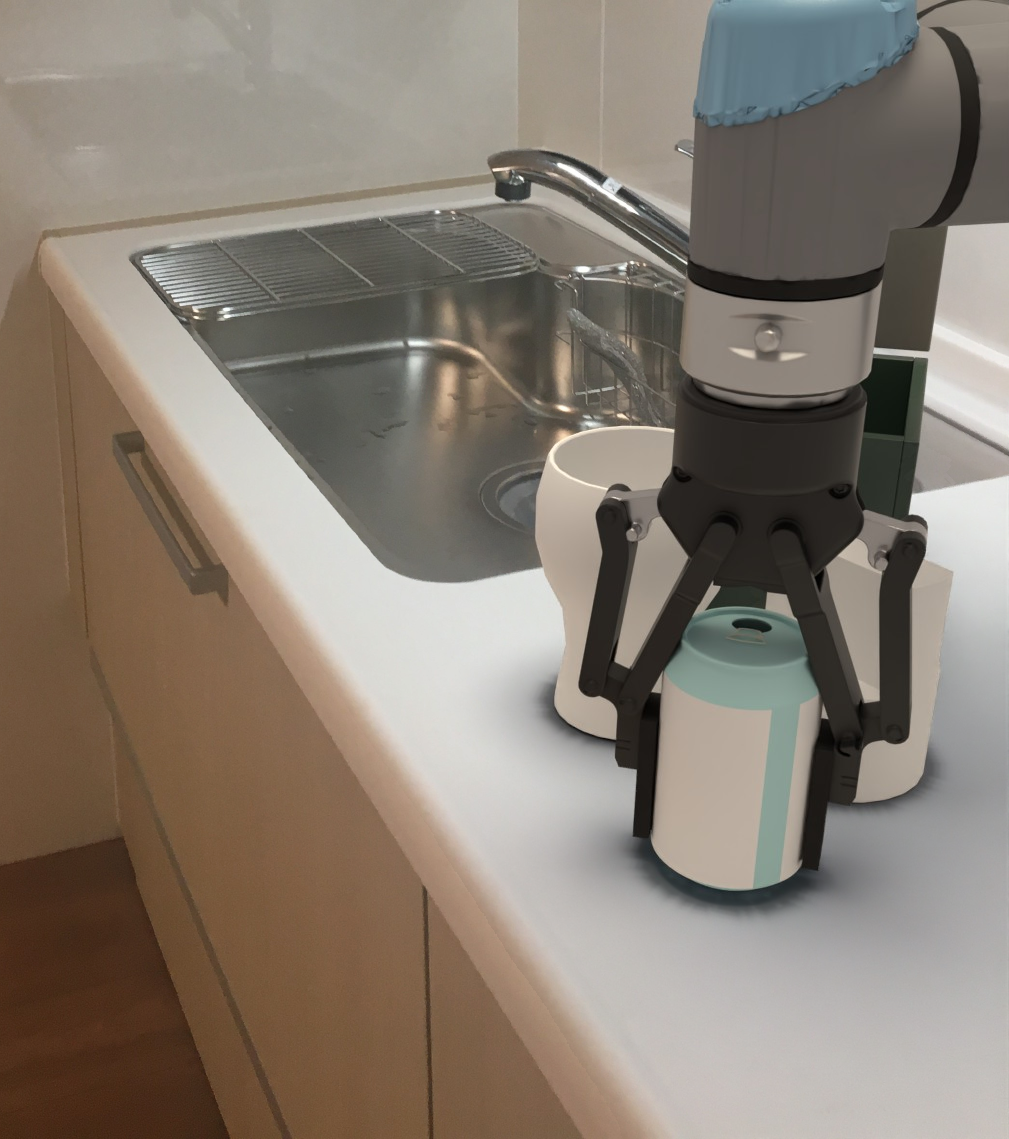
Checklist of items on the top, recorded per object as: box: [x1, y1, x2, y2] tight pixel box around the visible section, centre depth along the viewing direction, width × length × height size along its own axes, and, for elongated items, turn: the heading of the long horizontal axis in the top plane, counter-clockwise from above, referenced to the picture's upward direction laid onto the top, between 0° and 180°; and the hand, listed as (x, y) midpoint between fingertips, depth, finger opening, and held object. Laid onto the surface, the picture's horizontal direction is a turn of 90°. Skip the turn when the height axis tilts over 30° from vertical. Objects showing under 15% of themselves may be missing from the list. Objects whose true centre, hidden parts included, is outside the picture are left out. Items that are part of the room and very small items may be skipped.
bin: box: [705, 353, 929, 611], centre depth 94 cm, size 15×13×15 cm
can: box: [650, 607, 823, 892], centre depth 72 cm, size 7×7×12 cm
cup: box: [534, 425, 721, 741], centre depth 84 cm, size 11×11×15 cm
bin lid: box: [874, 226, 949, 353], centre depth 94 cm, size 16×13×1 cm
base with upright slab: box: [765, 538, 955, 803], centre depth 80 cm, size 9×9×12 cm
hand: (727, 836), depth 74 cm, fingers closed on can, 7 cm apart
